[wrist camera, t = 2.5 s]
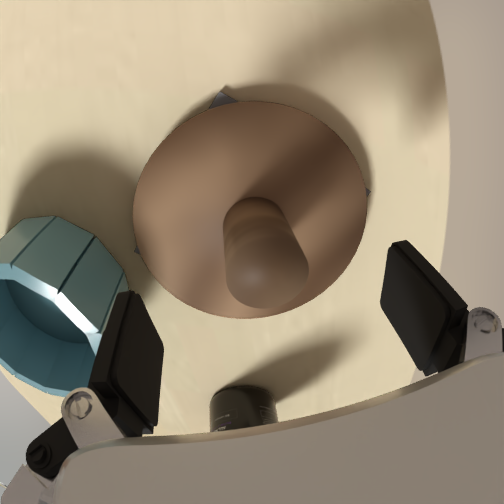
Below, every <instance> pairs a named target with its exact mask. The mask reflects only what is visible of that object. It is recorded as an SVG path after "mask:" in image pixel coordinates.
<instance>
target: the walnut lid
mask: <svg viewBox="0 0 504 504" xmlns="http://www.w3.org/2000/svg"><path fill="white" fill-rule="evenodd" d="M366 216H367V196H366V189H365V184H364V180H363V177H362V173H361V170H360V168H359V166H358V164H357V161H356V159H355V157H354V156H353V154H352V153H351V151H350V150H349V148H348V147H347V145H346V144H345V143H344V142H343V141H342V139H341V138H340V137H339V136H338V135H337V134H336V133H335V132H334V131H333V130H331V129H330V128H329V127H328V126H327V125H326V124H324V123H323V122H321V121H319V120H318V119H316V118H315V117H313V116H311V115H309V114H307V113H305V112H303V111H300V110H298V109H296V108H292V107H289V106H285V105H281V104H277V103H269V102H260V101H248V102H236V103H231V104H225V105H221V106H218V107H215V108H212V109H209V110H206V111H204V112H202V113H200V114H198V115H196V116H194V117H192V118H191V119H189V120H188V121H186V122H185V123H183V124H182V125H180V126H179V127H178V128H176V129H175V130H174V131H173V132H172V133H171V134H170V135H169V136H168V137H167V138H166V139H164V140H163V141H162V142H161V144H160V145H159V146H158V147H157V149H156V150H155V151H154V153H153V154H152V155H151V157H150V158H149V160H148V162H147V164H146V165H145V167H144V169H143V171H142V174H141V176H140V179H139V181H138V184H137V188H136V192H135V197H134V203H133V228H134V234H135V238H136V243H137V246H138V248H139V251H140V254H141V256H142V258H143V260H144V262H145V264H146V266H147V267H148V269H149V270H150V272H151V273H152V275H153V276H154V277H155V279H156V280H157V281H158V282H159V283H160V284H161V285H162V286H163V287H164V288H165V289H166V290H167V291H168V292H170V293H171V294H172V295H173V296H175V297H176V298H177V299H179V300H181V301H182V302H184V303H185V304H187V305H189V306H191V307H193V308H196V309H198V310H200V311H203V312H206V313H209V314H212V315H217V316H221V317H228V318H237V319H252V318H262V317H268V316H273V315H277V314H280V313H284V312H287V311H290V310H292V309H294V308H297V307H299V306H301V305H303V304H305V303H307V302H309V301H310V300H312V299H314V298H315V297H317V296H318V295H319V294H321V293H322V292H324V291H325V290H326V289H327V288H328V287H329V286H331V285H332V284H333V283H334V282H335V281H336V280H337V279H338V277H339V276H340V275H341V274H342V273H343V272H344V270H345V269H346V268H347V266H348V265H349V263H350V262H351V260H352V258H353V256H354V255H355V253H356V251H357V249H358V246H359V244H360V241H361V239H362V235H363V232H364V228H365V223H366Z"/></svg>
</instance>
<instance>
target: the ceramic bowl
mask: <svg viewBox="0 0 504 504" xmlns="http://www.w3.org/2000/svg"><path fill="white" fill-rule="evenodd" d="M93 237H94V235H93V234H91V233H89V232H87V231H85V230H83V229H81V228H79V227H77V226H75V225H73V224H72V223H70V222H68V221H66V220H64V219H62V218H60V217H57V218H56V217H55V216H48V217H37V218H27V219H23V220H21V221H20V222H19V223H18V224H17V225H15V226H14V227H13V228H12V229H11V230H10V231H9V232H8V233H7V234H6V235H4V236H3V237H2V238H1V239H0V364H1V365H2V366H3V367H4V368H5V369H6V370H7V371H8V372H10V373H11V374H12V375H15V377H16V378H18V379H20V380H22V381H23V382H25V383H27V384H29V385H31V386H33V387H35V388H37V389H39V390H41V391H43V392H45V393H48V394H51V395H56V396H61V397H66V396H67V395H68V394H69V393H70V392H71V391H73V390H74V389H76V388H81V387H83V388H87V386H88V382H89V379H90V375H91V371H92V367H93V364H94V360H95V357H96V353H97V350H98V347H99V343H100V340H101V337H102V334H103V332H104V331H105V328H106V325H107V322H108V319H109V316H110V313H111V310H112V307H113V304H114V301H115V299H116V296H117V294H118V293H119V292H125V291H129V289H128V285H127V280H126V276H125V272H123V269H122V267H121V266H120V265H119V264H118V263H117V262H116V260H115V259H114V258H113V257H112V255H111V254H110V253H109V252H108V251H107V249H106V248H105V247H104V246H103V244H102V243H101V242H100V241H99V239H98V238H97V237H96V238H94V239H93Z"/></svg>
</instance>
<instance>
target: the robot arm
mask: <svg viewBox="0 0 504 504" xmlns="http://www.w3.org/2000/svg"><path fill="white" fill-rule="evenodd" d="M380 304H381V308H382V310H383V311H384V313H385V315H386V316H387V318H388V319H389V321H390V323H391V324H392V326H393V327H394V329H395V331H396V332H397V334H398V336H399V337H400V339H401V341H402V342H403V344H404V346H405V347H406V349H407V351H408V352H409V354H410V356H411V358H412V359H413V361H414V363H415V365H416V366H417V368H418V369H419V370H420V371H423V372H424V374H425V376H429V375H431V374H433V373H436V372H437V371H438V374H435V375H433V376H431V377H428V378H426V379H423V380H421V381H418V382H416V383H413V384H410V385H408V386H405V387H403V388H400V389H397V390H395V391H392V392H389V393H386V394H383V395H380V396H377V397H374V398H371V399H368V400H365V401H362V402H359V403H355V404H352V405H349V406H345V407H342V408H338V409H334V410H331V411H327V412H323V413H319V414H315V415H311V416H307V417H302V418H298V419H293V420H288V421H283V422H278V423H273V424H267V425H261V426H255V427H249V428H242V429H235V430H227V431H219V432H209V433H198V434H186V435H171V436H147V437H142V434H153V429H154V426H157V424H158V412H159V398H160V386H161V375H162V365H163V355H164V346H163V343H162V341H161V339H160V337H159V335H158V333H157V330H156V328H155V326H154V324H153V322H152V320H151V318H150V316H149V314H148V312H147V310H146V307H145V305H144V303H143V301H142V299H141V296H140V295H139V294H138V293H137V294H135V292H134V291H132V290H131V291H125V292H119V293H118V294H117V296H116V299H115V301H114V304H113V307H112V310H111V313H110V316H109V319H108V322H107V325H106V328H105V331H104V332H103V334H102V337H101V340H100V343H99V347H98V350H97V353H96V357H95V360H94V364H93V367H92V371H91V375H90V379H89V382H88V386H87V388H83V387H81V388H76V389H74V390H73V391H71V392H70V393H69V394H68V395H67V396H66V397H65V398H64V400H63V403H62V405H61V413H62V416H63V417H62V418H61V419H59V420H58V421H57V422H56V423H54V424H53V425H52V426H51V427H50V428H48V429H47V430H46V431H45V432H43V433H42V434H41V435H40V436H38V437H37V438H36V439H35V440H33V441H32V442H31V443H30V444H29V446H28V448H27V452H26V461H27V465H26V466H25V465H24V464H22V466H21V467H20V469H19V470H18V472H17V473H16V475H15V476H14V478H13V479H12V481H11V482H10V484H9V485H8V487H7V488H6V490H5V491H4V493H3V495H2V497H1V504H504V328H502V326H501V321H500V319H499V318H498V316H497V315H496V314H495V313H494V312H492V311H491V310H490V309H487V308H483V307H478V308H474V309H472V310H471V311H470V312H469V311H468V310H467V307H468V305H467V304H466V303H465V302H464V300H462V298H461V297H460V296H459V295H458V293H457V292H456V291H455V290H454V289H453V288H452V287H451V286H450V284H449V283H447V281H446V280H445V279H444V278H443V277H442V276H441V275H440V273H439V272H438V271H437V270H436V269H435V268H434V267H433V266H432V265H431V264H430V263H429V262H428V261H427V260H426V259H425V258H424V257H423V256H422V255H421V254H420V253H419V252H418V251H417V250H416V249H415V248H414V247H413V246H412V245H411V244H410V243H409V242H408V241H407V240H403V241H398V242H394V243H392V245H391V247H389V249H388V253H387V261H386V268H385V275H384V281H383V287H382V293H381V299H380Z"/></svg>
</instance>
